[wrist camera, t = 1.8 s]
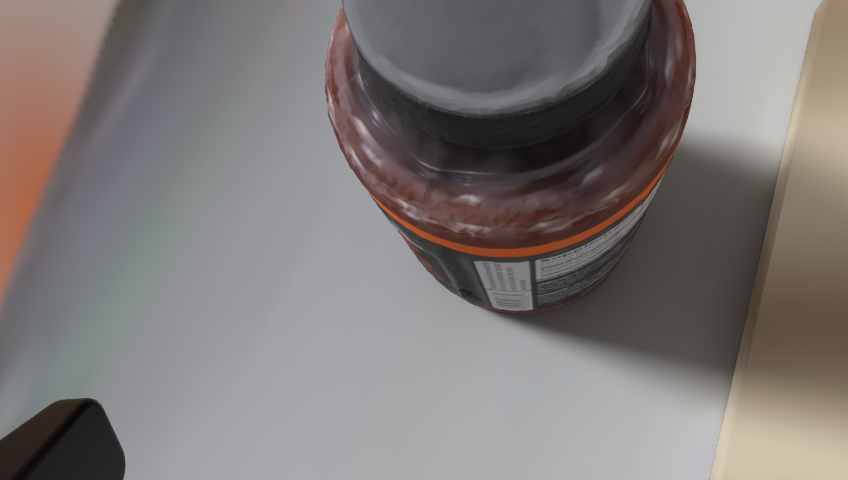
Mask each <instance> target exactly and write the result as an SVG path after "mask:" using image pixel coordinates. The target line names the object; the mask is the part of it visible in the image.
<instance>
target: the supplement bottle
mask: <svg viewBox="0 0 848 480" xmlns="http://www.w3.org/2000/svg"><path fill="white" fill-rule="evenodd" d="M342 4H343V5H342V8H341V9H340V11H339V14H338V16H337V18H336V22H335V24H334V27H333V32H332V34H331V40H330V43H329V47H328V52H327V58H326V62H325V67H326V74H325V82H326V83H325V92H326V95H327V103H328V116H329V119H330V122H331V124H332V127H333V129H334V132H335V135H336V137H337V140H338V143H339V146H340V149H341V150H342V152H343V154H344V156H345V158H346V160H347V162H348V164H349V166H350V168H351V169H352V170H353V171H354V173H355V174H356V176H357V177H358V179H359V180H360V182H361V183H362V184H363V185H364V187H365V188H366V189H367V191H368V192H369V194H370V195H371V197H372V198H373V200H374V201H375V202H376V204H377V205H378V207H379V208H380V209H381V210H382V212H383V213H384V214H385V215H386V217H387V218H388V220H389V221H390V222H391V224H392V225H393V226H394V227H395V228H396V229H397V230H398V232H399V233H400V234H401V236H402V237H403V238H404V240H405V241H406V243H407V244H408V246H409V247H410V248H411V250H412V251H413V252H414V254H415V255H416V257H417V258H418V260H419V261H420V262H421V263H422V264H423V265H424V267H425V268H426V269H427V271H428V272H430V273H431V274H432V275H433V276H434V277H435V279H436V280H437V281H438V282H440V283H441V284H442V285H443V286H445V287H446V288H447V289H448V290H449V291H451V292H452V293H454V294H456V295H458V296H459V297H461V298H462V299H464V300H466V301H467V302H469V303H471V304H473V305H476V306H479V307H482V308H485V309H488V310H493V311H498V312H504V313H513V314H526V313H539V312H545V311H549V310H554V309H557V308H560V307H563V306H565V305H567V304H569V303H571V302H573V301H575V300H577V299H580V298H581V297H583V296H584V295H586V294H587V293H589V292H591V291H592V290H593V289H595V288H596V287H597V286H598V285H599V284H600V283H601V282H602V281H603V280H605V279H606V278H607V277H608V276H609V274H610V273H611V272H612V270H613V269H614V268H615V267H616V266H617V265H618V264H619V262H620V260H621V259H622V258H623V256H624V254H625V253H626V251H627V250H628V248H629V246H630V244H631V243H632V240H633V238H634V236H635V234H636V232H637V229H638V227H639V226H640V224H641V222H642V220H643V217H644V216H645V213H646V211H647V209H648V207H649V205H650V202H651V200H652V199H653V197H654V195H655V194H656V191H657V189H658V186H659V185H660V183H661V181H662V178H663V176H664V174H665V172H666V170H667V168H668V166H669V164H670V162H671V160H672V158H673V154H674V151H675V149H676V147H677V145H678V143H679V140H680V138H681V136H682V133H683V130H684V128H685V125H686V122H687V119H688V115H689V111H690V107H691V103H692V98H693V92H694V84H695V78H696V53H695V42H694V33H693V29H692V24H691V21H690V17H689V14H688V11H687V8H686V6H685V3H684V1H683V0H342Z"/></svg>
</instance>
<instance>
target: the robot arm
mask: <svg viewBox="0 0 848 480" xmlns="http://www.w3.org/2000/svg"><path fill="white" fill-rule="evenodd" d="M124 474H125V456H124V452H123V449H122V447H121V445H120V443H119V441H118V438H117V436H116V434H115V432H114V430H113V428H112V426H111V424H110V421H109V419H108V417H107V415H106V413H105V411H104V409H103V407H102V405H101V404H100V403H99V402H98V401H96V400H95V399H91V398H81V399H65V400H59V401H56V402H54V403H52V404H51V405H49V406H48V407H46V408H45V409H43V410H42V411H41V412H39V413H38V414H36V415H35V416H34V417H32V418H31V419H29V420H28V421H27V422H25V423H24V424H22V425H21V426H19V427H18V428H17V429H15V430H14V431H12V432H11V433H10V434H8V435H7V436H5V437H4V438H3V439H1V440H0V480H123V479H124Z"/></svg>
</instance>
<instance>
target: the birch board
mask: <svg viewBox="0 0 848 480" xmlns="http://www.w3.org/2000/svg"><path fill="white" fill-rule="evenodd" d="M710 480H848V0H823V1H822V2H821V4H820V5H819V7H818V8H817V10H816V12H815V13H814V18H813V22H812V26H811V31H810V35H809V40H808V44H807V49H806V53H805V58H804V62H803V67H802V71H801V76H800V80H799V85H798V89H797V93H796V98H795V102H794V107H793V111H792V116H791V120H790V125H789V129H788V134H787V138H786V143H785V147H784V151H783V156H782V160H781V165H780V169H779V174H778V178H777V183H776V187H775V192H774V196H773V201H772V205H771V209H770V214H769V218H768V223H767V227H766V232H765V236H764V241H763V245H762V250H761V254H760V259H759V263H758V267H757V272H756V276H755V281H754V285H753V290H752V294H751V299H750V303H749V308H748V312H747V317H746V321H745V325H744V330H743V334H742V339H741V343H740V348H739V352H738V357H737V361H736V366H735V370H734V375H733V379H732V383H731V388H730V392H729V397H728V401H727V406H726V410H725V415H724V419H723V424H722V428H721V433H720V437H719V441H718V446H717V450H716V455H715V459H714V464H713V468H712V473H711V477H710Z"/></svg>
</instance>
